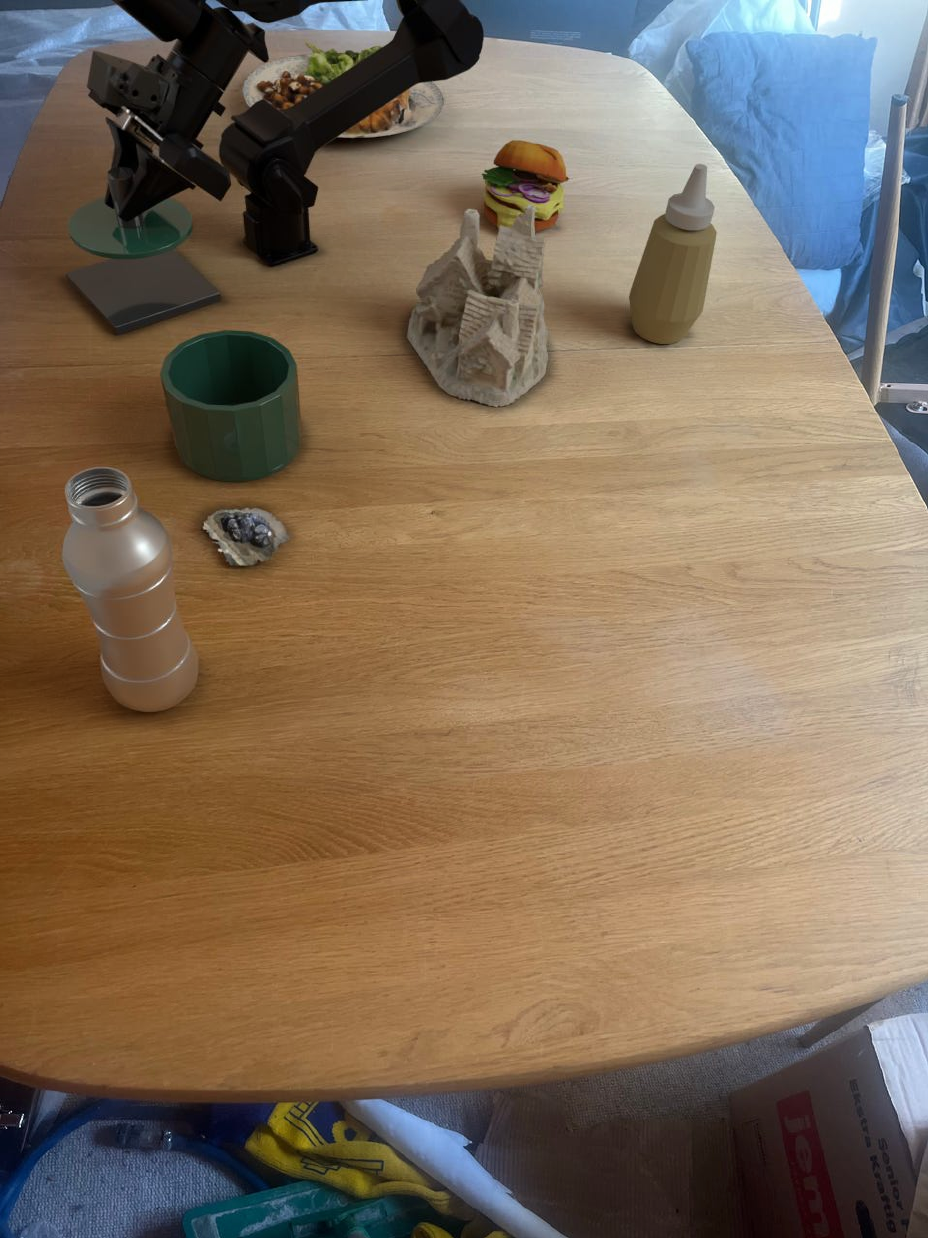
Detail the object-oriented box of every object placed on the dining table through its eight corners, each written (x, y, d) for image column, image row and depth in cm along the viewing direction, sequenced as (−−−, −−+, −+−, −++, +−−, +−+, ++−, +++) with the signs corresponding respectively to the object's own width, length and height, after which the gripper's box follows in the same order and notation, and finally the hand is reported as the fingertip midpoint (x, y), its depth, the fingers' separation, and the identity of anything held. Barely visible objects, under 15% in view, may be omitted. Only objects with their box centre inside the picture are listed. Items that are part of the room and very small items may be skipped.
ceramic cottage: (436, 291, 107) (444, 161, 95) (571, 342, 104) (597, 214, 91) (366, 371, 98) (365, 239, 86) (510, 429, 95) (531, 301, 83)
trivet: (168, 250, 109) (167, 242, 108) (221, 300, 103) (220, 292, 103) (67, 280, 104) (64, 272, 103) (117, 335, 98) (115, 327, 97)
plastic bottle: (116, 653, 73) (47, 450, 57) (207, 651, 73) (163, 450, 58) (103, 725, 69) (24, 527, 53) (200, 722, 69) (150, 525, 54)
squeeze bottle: (703, 322, 107) (752, 160, 93) (683, 360, 102) (731, 195, 88) (635, 301, 109) (673, 139, 95) (612, 337, 104) (648, 172, 90)
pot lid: (159, 192, 104) (148, 133, 99) (216, 242, 98) (207, 183, 94) (50, 222, 99) (33, 162, 94) (103, 278, 93) (88, 216, 88)
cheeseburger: (464, 226, 117) (477, 137, 111) (493, 210, 125) (506, 126, 119) (543, 246, 115) (560, 156, 109) (567, 228, 123) (584, 144, 117)
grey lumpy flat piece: (253, 581, 78) (251, 566, 77) (179, 540, 81) (175, 524, 79) (305, 533, 82) (303, 517, 81) (232, 495, 84) (230, 479, 83)
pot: (188, 398, 93) (174, 326, 86) (307, 405, 93) (302, 333, 87) (165, 479, 85) (148, 406, 79) (294, 485, 86) (288, 413, 80)
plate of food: (360, 54, 148) (360, 9, 143) (483, 121, 136) (487, 75, 131) (204, 96, 135) (198, 48, 130) (325, 174, 123) (323, 125, 118)
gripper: (84, -18, 90) (4, 130, 93) (181, 53, 81) (88, 213, 85) (175, 56, 99) (99, 188, 103) (270, 127, 90) (183, 269, 94)
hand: (115, 212), depth 96 cm, fingers closed on pot lid, 3 cm apart
